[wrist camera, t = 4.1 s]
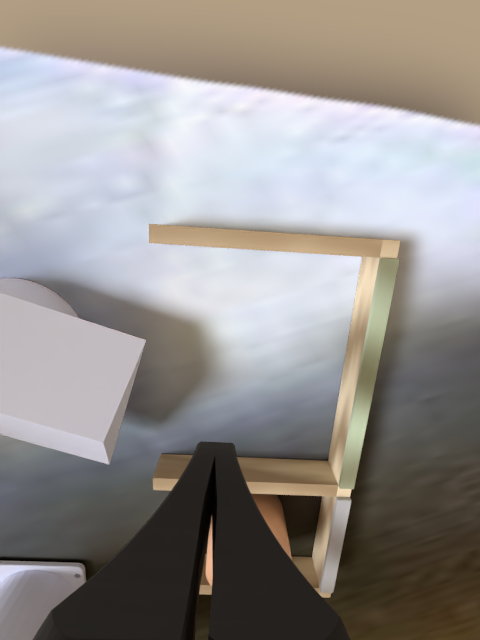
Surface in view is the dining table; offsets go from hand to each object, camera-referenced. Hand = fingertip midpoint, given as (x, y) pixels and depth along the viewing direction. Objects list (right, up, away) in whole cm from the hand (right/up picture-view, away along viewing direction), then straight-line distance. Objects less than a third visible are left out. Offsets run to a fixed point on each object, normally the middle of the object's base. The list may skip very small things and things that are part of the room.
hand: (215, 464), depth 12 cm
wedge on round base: (-12, +3, +9) cm, 16 cm away
